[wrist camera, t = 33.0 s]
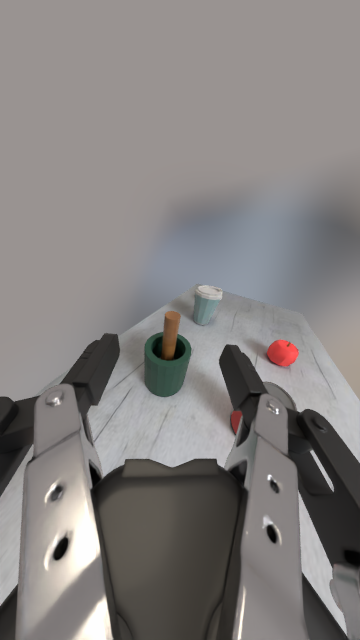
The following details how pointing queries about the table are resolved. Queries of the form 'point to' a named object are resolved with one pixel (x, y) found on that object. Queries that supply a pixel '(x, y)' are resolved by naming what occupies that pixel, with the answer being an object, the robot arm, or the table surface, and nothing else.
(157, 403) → the table surface
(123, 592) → the robot arm
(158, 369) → the green cup
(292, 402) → the beer can
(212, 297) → the disposable coffee cup
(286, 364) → the apple
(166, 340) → the brown and grey cylinder
